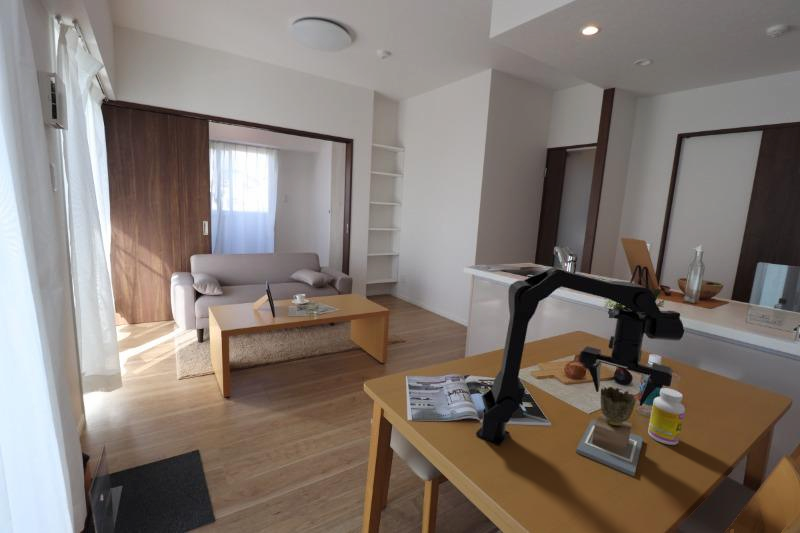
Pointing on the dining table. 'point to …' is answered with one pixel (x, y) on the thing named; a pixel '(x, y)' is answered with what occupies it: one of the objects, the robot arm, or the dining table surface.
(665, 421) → the supplement bottle
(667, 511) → the dining table surface
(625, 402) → the cup
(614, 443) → the walnut block
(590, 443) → the slate board
